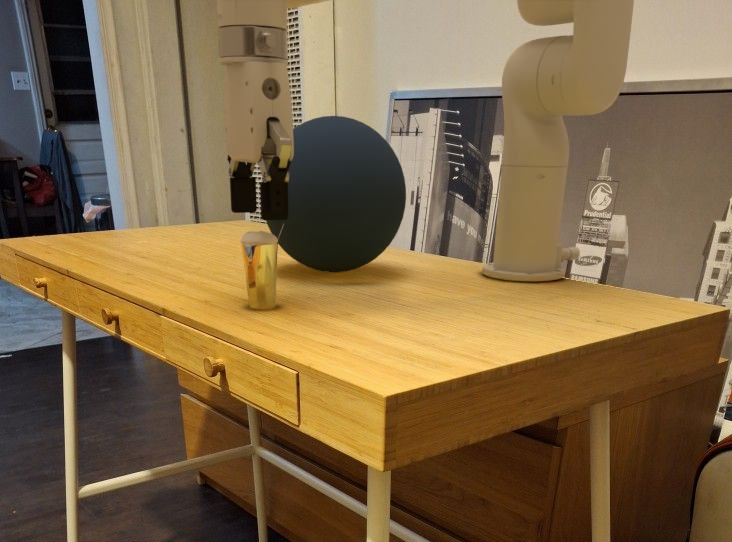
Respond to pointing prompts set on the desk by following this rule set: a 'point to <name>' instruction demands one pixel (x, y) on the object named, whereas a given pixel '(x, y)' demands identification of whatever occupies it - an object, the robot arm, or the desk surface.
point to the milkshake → (260, 268)
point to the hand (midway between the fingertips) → (258, 215)
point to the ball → (340, 195)
